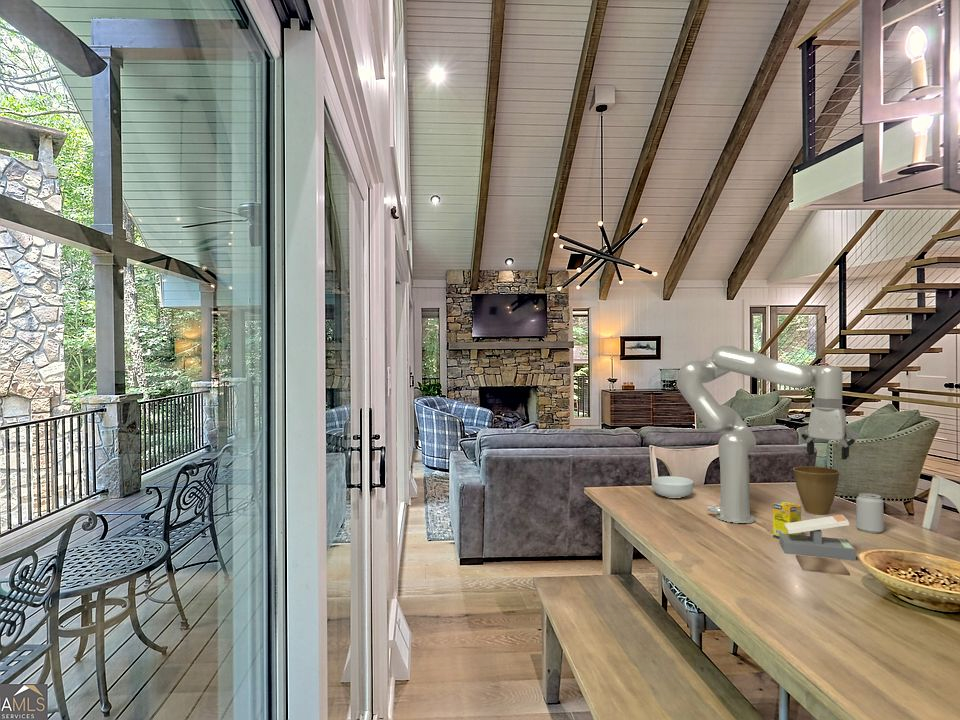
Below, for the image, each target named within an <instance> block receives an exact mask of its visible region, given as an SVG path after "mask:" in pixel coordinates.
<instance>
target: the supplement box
mask: <svg viewBox="0 0 960 720" xmlns="http://www.w3.org/2000/svg"><path fill="white" fill-rule="evenodd" d="M772 513H773V514H772V531H773V532H772V537H773V538H775V537H776V539H779V533H782V534H789V533H788V531H787V530H786V528H785V525H784V524H785V523H791V522H798V521H802V505H801V504H797V503H793V502H788V501H782V502H775V503H774V502H773V504H772ZM793 535H802V532H799V533H793Z"/></svg>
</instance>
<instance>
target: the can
mask: <svg viewBox="0 0 960 720" xmlns="http://www.w3.org/2000/svg"><path fill="white" fill-rule="evenodd" d="M855 503H856V504H855V508H856V509H855V510H856V511H855V514H856V515H855V516H856V518H855V519H856V520H855V521H856V523H855V526H856V528H857V529H858V530H859V531H861V532H863V533H867V534H880V533H882V532H884V530H885V528H884V525H885V524H884V523H885V522H884V518H885V517H884V514H885V513H884V500H883V499H882V496H881V495H879V494H875V493H868V492H867V493H866V492H862V493H861V492H860V493H858V494H857V497H856V498H855Z"/></svg>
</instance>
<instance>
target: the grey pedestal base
mask: <svg viewBox="0 0 960 720" xmlns="http://www.w3.org/2000/svg"><path fill="white" fill-rule="evenodd" d="M822 533H823V532H822V529H820V530H813V531H809V535H806V534H805V535H803V534H801V535H793V534H782V533H779V538H778V540H779V545H780V547H781V548H782V551H783V553H784V554H789V555H802V556H812V557H822V558H832V559H840V560H846V561H847V560H850V561H856V560H857V551H856V548H855V547H854V546H853V545H852V544H851V542H850V541H849V540H848V539H847V538H838V537H837V538H836V537H825V536H823V534H822Z"/></svg>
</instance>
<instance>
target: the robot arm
mask: <svg viewBox="0 0 960 720" xmlns="http://www.w3.org/2000/svg"><path fill="white" fill-rule="evenodd" d="M731 372H733V373H737V374H741V375H745V376H748V377H752V378H754V379H758V380H763V381H766V382H771V383H773V384H777V385H781V386H786V387H788V388H789V387H790V388H793V389H801V388H802V389H804V388H812V387H814V398H813V399H810V402H809V403H810V404H812V405H814V407H811V411H810V414H809V420H808V421H809V422H808V425H805V426H802V427H800V428H798V430H797V431H798V432H799V434H800V437H801V438H802V439H803V440H804V442H805V443H806V452H807V455H808V456H813V455H814V454H815V442H814V440H815V439H818V440H827V441H834V442H835V441H836V442H840V443H841V444H842V446H841V460H847V459H848V457H850V447H851V446H852V445H853V444H855V443H856V441H857V440H858V439H859V436H860V433H858V432H856V431H854V430H852V429H850V428H849V427H848V425H847V417H846V416H847V415H846V411H845V409H843V377H844V376H843V374H844V373H843V368H841V367H839V366H834V365H833V366H832V365H831V366H830V365H828V366H827V365H826V366H825V365H824V366H823V365H822V366H821V365H820V366H815V365H807V364H794V363H789V362H786V361H780V360H777V359H774V358H770V357H768V356H767V355H765V354H763V353H758V352H754V351H751V350H745V349H741V348H738V347H736V346H732V345H721V346H718V347H717V348H715V349H714V350H713V351H712V354H711V356H710V357H707V358H706V359H705V358H704V359H703V360H694V361H693V360H692V361H689V362H686V363H685V364H683V365H682V367H681V369H680V370H679V372H678V375H677V386H678V389H679V393H680V394H681V395H682V396H683V398H684V400H685V401H686V402H687V403H688V405H689V406H690V407H691V409H692V410H693V411H694V413H695V414H696V415H697V417H698V418H699V421H701V422H702V424H703V425H704V427H706V429H707V430H708V431H711V432H713V433H720V434H721V436H720V438H719V440H718V444H717V449H718V457H719V467H720V468H719V471H720V472H719V476H720V477H719V479H720V481H719V482H720V486H719V487H720V502H719V504H718V505H715V506H714V505H707V506H706V511H708V512H709V511H710V513H716V514H715V517H717V518H718V520H719V519H721V520H720V521H722V520H724V521H723V522H725V521H727V522H726V523H730V522H733V523H732V524H738V523H747V524H752V523H755V519H756V518H755V517H754V516H753V515H752V514H751V512H750V508H751V507H750V506H751V505H750V504H751V503H750V498H751V496H750V492H751V491H750V463H749V457H748V455H749V454H750V453H752V452H753V451H755V449H756V447H757V439H756V437H755V435H754V433H753V431H752V430H751V428H750V427H749V426H748V425H747V423H746V422H745V421H744V420H743V418H742V417H741V415H739V413H737V411H736V410H735V409H733V408H732V407H731V406H729V405H726V404H719V402H718V401H717V400H716V399H715V397H714V396H713V394H712V393H711V392H710V391H709V390H708V389H707V388H706V387H705V386H704V384H706V383H709V382H712V381H714V380H716V379H719V378H720V377H722V376H724V375H726V374H729V373H731ZM806 430H808V431H807V432H808V433H806ZM848 434H849V435H850V436H851V438H850V439H849V440H848V439H847V438H848V437H847V436H848ZM717 518H716V519H717Z"/></svg>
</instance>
